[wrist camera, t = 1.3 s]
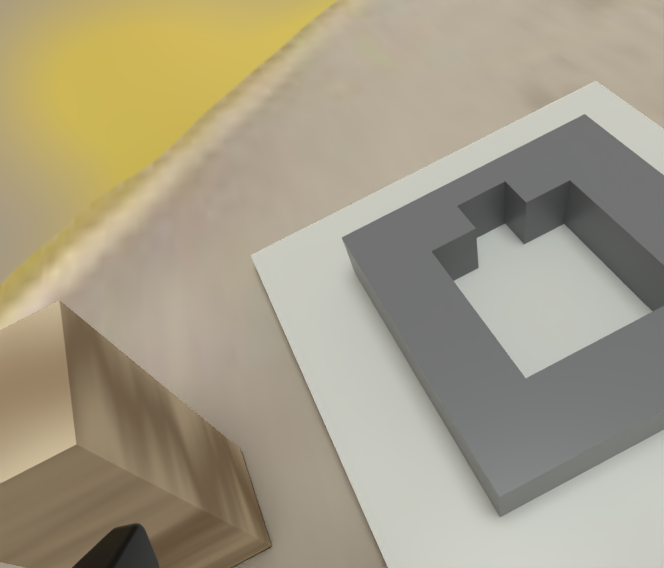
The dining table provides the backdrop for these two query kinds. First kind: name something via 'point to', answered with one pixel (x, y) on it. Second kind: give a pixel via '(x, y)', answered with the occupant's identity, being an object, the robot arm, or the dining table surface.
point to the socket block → (497, 344)
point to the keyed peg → (110, 456)
